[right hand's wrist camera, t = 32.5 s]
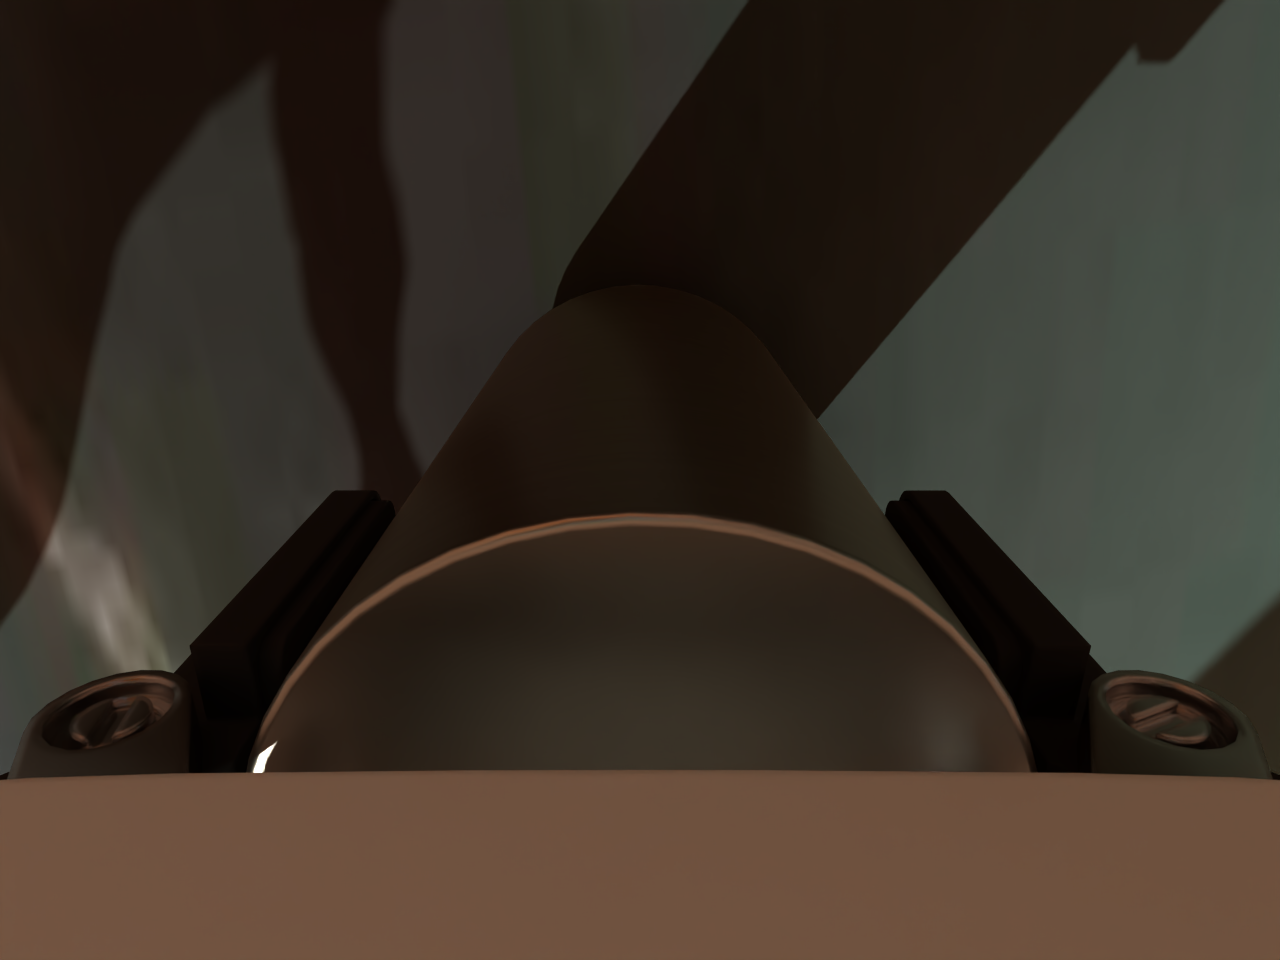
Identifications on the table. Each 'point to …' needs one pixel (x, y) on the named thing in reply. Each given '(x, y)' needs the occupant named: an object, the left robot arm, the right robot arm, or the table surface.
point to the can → (641, 583)
